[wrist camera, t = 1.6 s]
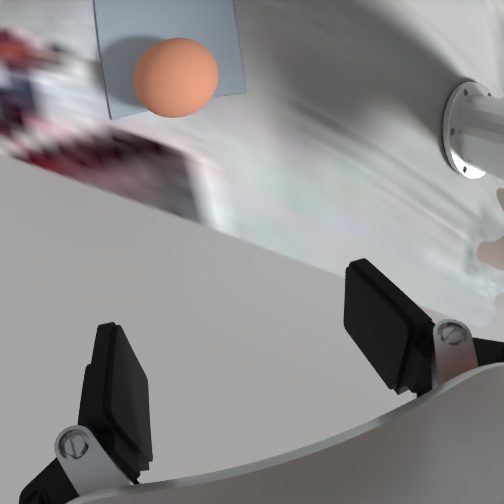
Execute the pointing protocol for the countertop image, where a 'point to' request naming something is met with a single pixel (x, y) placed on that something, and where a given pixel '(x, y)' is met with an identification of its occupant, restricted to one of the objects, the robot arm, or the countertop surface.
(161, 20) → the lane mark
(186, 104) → the ball
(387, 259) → the countertop surface
